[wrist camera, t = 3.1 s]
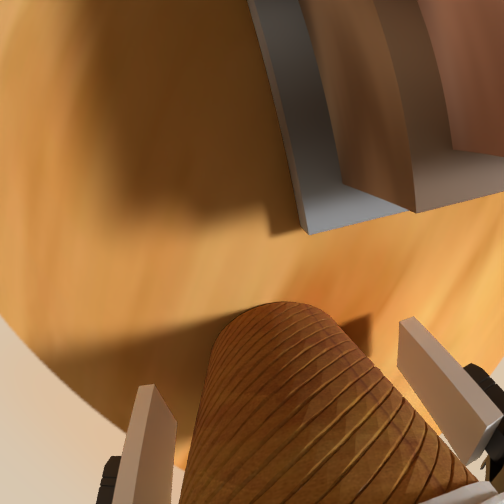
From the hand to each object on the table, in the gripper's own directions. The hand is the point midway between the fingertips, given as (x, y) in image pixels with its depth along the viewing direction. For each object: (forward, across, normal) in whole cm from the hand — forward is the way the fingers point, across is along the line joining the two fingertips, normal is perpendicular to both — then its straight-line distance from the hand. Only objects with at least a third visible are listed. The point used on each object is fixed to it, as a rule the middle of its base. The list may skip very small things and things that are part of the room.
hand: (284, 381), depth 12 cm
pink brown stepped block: (+1, +11, +15) cm, 19 cm away
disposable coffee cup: (+2, 0, 0) cm, 2 cm away
